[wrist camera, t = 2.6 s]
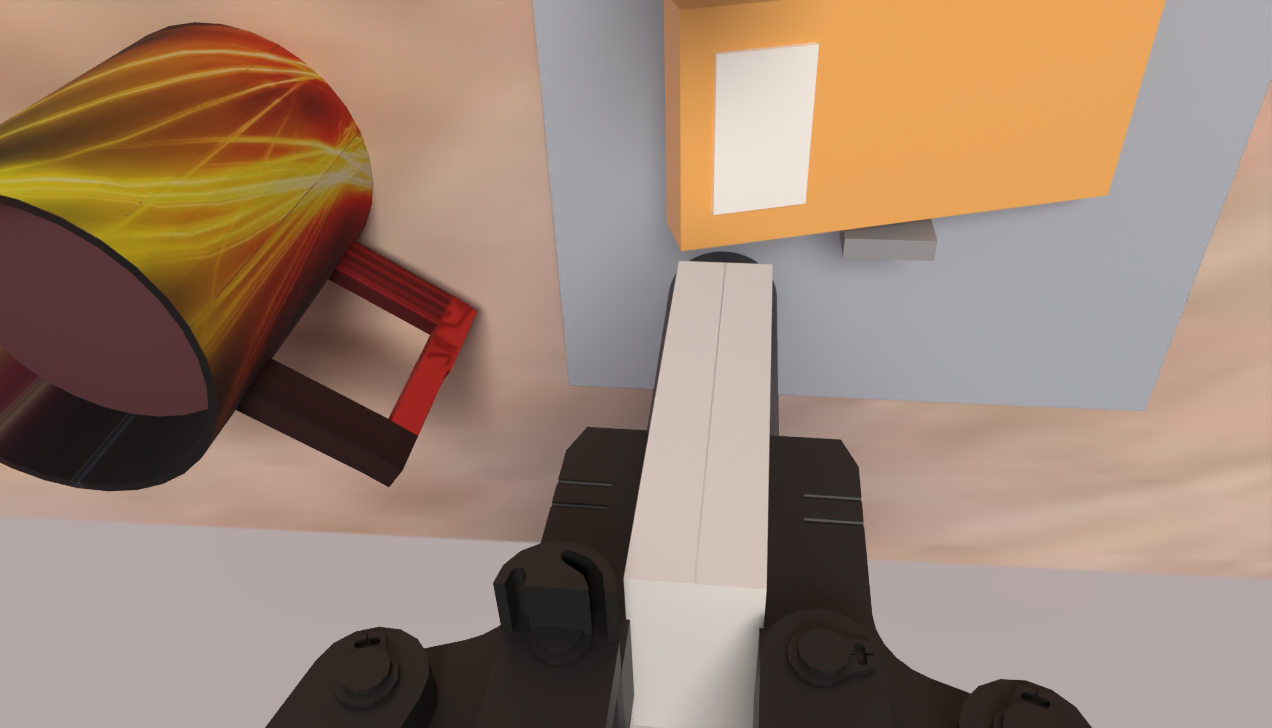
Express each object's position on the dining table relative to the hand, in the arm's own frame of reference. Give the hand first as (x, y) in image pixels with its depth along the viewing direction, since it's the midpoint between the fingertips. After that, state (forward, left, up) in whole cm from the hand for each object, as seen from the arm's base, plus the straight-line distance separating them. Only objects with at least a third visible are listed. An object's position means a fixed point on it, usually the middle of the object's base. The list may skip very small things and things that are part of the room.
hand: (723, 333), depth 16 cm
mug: (-16, -5, -17) cm, 24 cm away
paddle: (+4, 0, -11) cm, 11 cm away
